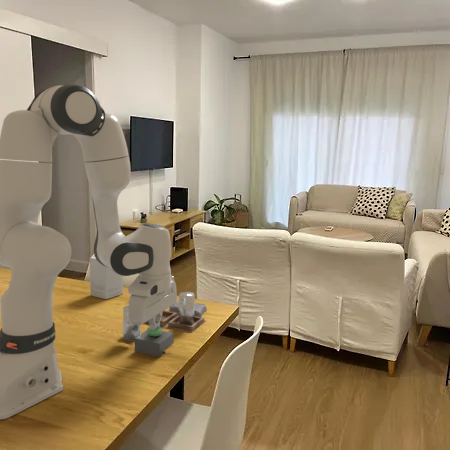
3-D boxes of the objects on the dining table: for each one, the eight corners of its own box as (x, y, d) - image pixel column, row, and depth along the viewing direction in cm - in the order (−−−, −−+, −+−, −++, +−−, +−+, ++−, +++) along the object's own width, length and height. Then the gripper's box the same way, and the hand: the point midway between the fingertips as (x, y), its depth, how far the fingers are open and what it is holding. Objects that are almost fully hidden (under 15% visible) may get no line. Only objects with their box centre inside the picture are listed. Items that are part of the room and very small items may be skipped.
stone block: (177, 312, 164) (166, 316, 154) (179, 299, 164) (168, 302, 154) (208, 317, 160) (199, 322, 151) (210, 304, 160) (201, 308, 151)
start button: (156, 349, 126) (157, 332, 125) (144, 346, 128) (144, 329, 127) (164, 343, 130) (164, 327, 129) (152, 341, 131) (152, 324, 131)
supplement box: (123, 294, 176) (123, 256, 173) (106, 300, 168) (105, 261, 166) (107, 289, 180) (106, 253, 178) (89, 295, 173) (88, 257, 170)
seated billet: (189, 328, 142) (190, 297, 140) (175, 325, 144) (176, 295, 142) (196, 322, 146) (197, 293, 145) (183, 320, 148) (183, 290, 147)
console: (159, 357, 124) (159, 343, 123) (134, 351, 127) (134, 338, 126) (173, 345, 131) (173, 332, 131) (149, 340, 134) (149, 328, 134)
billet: (134, 345, 131) (134, 312, 129) (119, 341, 133) (119, 309, 131) (143, 338, 136) (143, 306, 134) (129, 335, 137) (129, 304, 136)
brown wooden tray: (191, 336, 138) (191, 328, 138) (138, 325, 145) (138, 318, 145) (206, 323, 149) (206, 316, 148) (156, 314, 156) (156, 307, 155)
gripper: (163, 270, 136) (163, 314, 139) (124, 289, 118) (124, 339, 120) (182, 273, 134) (181, 317, 136) (145, 293, 115) (145, 344, 118)
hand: (154, 328), depth 128 cm, fingers closed, pressing on start button
